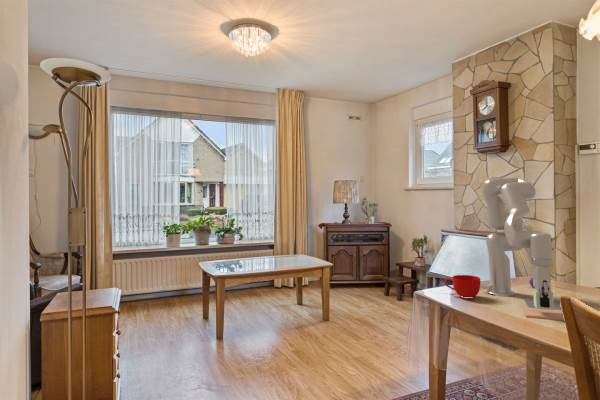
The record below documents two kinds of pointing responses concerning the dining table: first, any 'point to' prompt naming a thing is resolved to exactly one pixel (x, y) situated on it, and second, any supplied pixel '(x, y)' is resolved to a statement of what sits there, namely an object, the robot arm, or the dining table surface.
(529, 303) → the mat
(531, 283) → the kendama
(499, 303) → the dining table surface
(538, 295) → the block
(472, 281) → the ceramic cup
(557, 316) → the set down board
